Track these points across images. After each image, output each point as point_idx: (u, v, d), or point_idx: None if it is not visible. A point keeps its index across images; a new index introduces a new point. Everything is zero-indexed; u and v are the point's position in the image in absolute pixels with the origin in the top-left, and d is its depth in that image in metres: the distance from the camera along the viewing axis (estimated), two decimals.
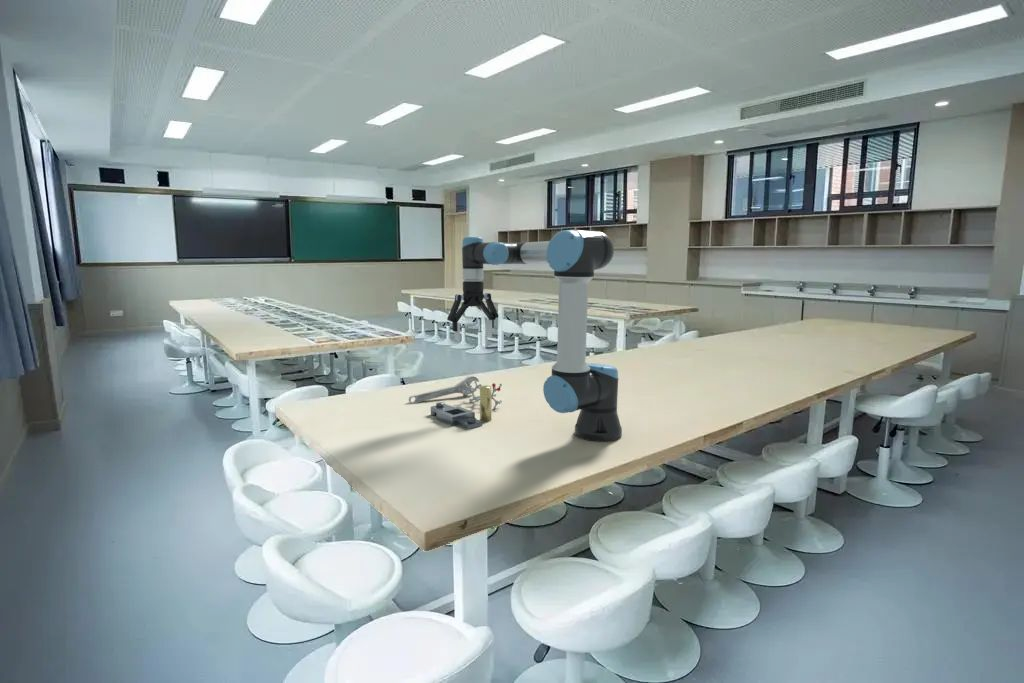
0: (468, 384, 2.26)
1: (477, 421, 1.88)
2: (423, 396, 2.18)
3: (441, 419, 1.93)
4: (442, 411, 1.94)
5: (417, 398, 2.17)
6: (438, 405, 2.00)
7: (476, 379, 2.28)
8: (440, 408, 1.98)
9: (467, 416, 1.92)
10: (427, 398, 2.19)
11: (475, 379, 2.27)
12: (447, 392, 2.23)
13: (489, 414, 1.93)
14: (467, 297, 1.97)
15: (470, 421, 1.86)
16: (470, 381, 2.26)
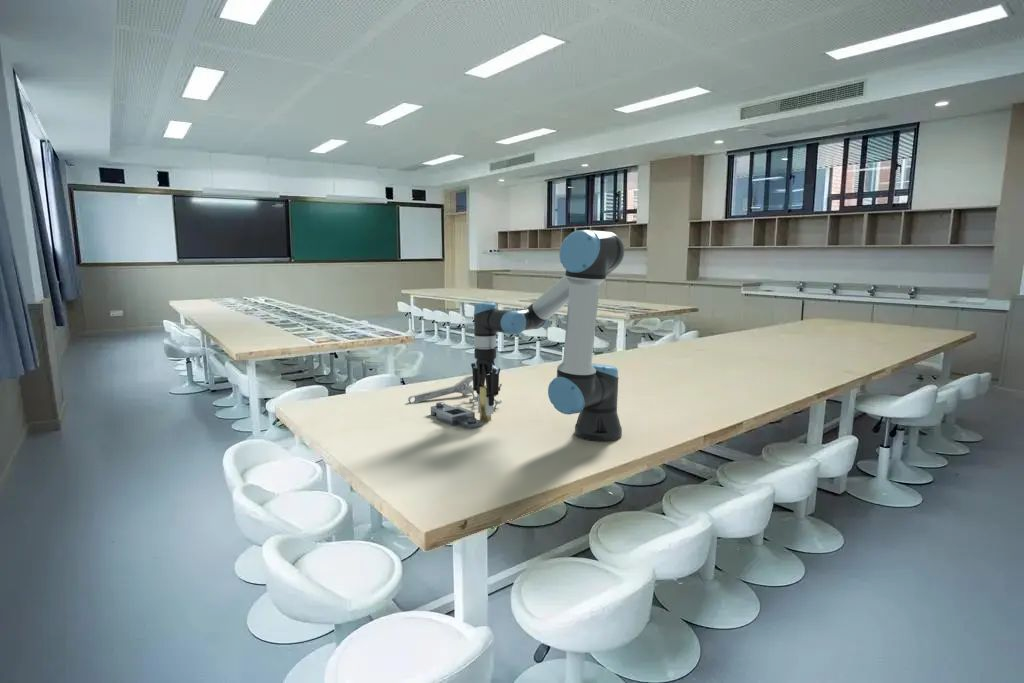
0: (467, 384, 2.27)
1: (477, 421, 1.88)
2: (423, 396, 2.18)
3: (441, 419, 1.93)
4: (442, 411, 1.94)
5: (417, 398, 2.17)
6: (438, 405, 2.00)
7: None
8: (440, 408, 1.98)
9: (467, 416, 1.92)
10: (427, 398, 2.19)
11: None
12: (446, 392, 2.23)
13: None
14: (477, 363, 1.93)
15: (470, 421, 1.86)
16: (469, 380, 2.27)
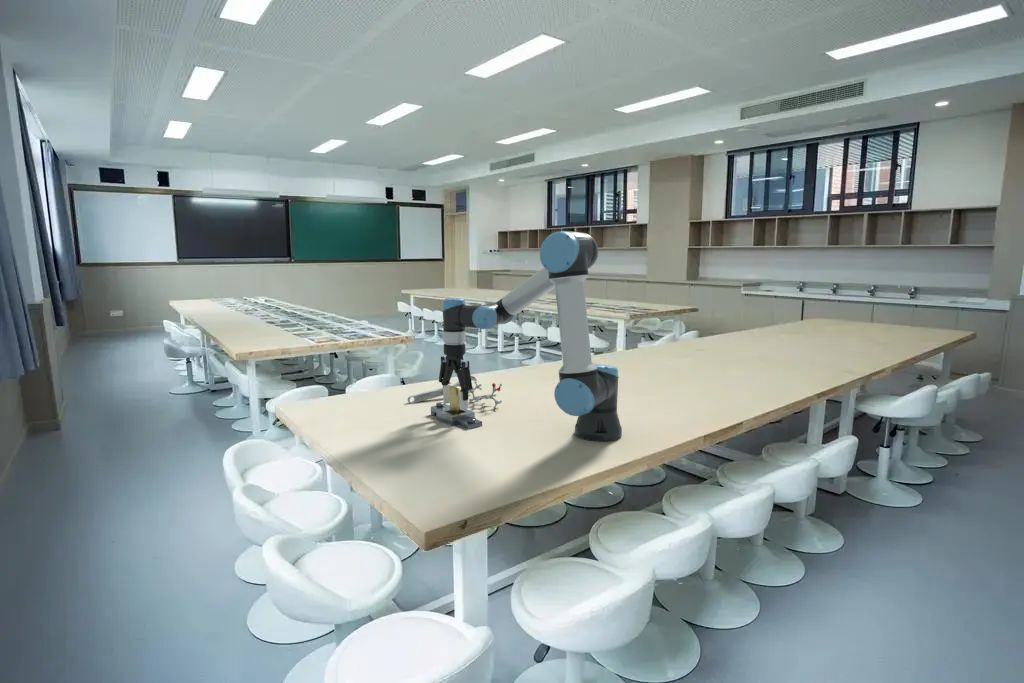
0: None
1: (477, 421, 1.88)
2: (422, 396, 2.18)
3: (441, 419, 1.93)
4: (442, 411, 1.94)
5: (416, 398, 2.17)
6: (438, 405, 2.00)
7: (474, 378, 2.28)
8: (440, 408, 1.98)
9: (467, 416, 1.92)
10: (426, 398, 2.19)
11: (473, 378, 2.28)
12: None
13: None
14: (447, 359, 1.93)
15: (470, 421, 1.86)
16: None
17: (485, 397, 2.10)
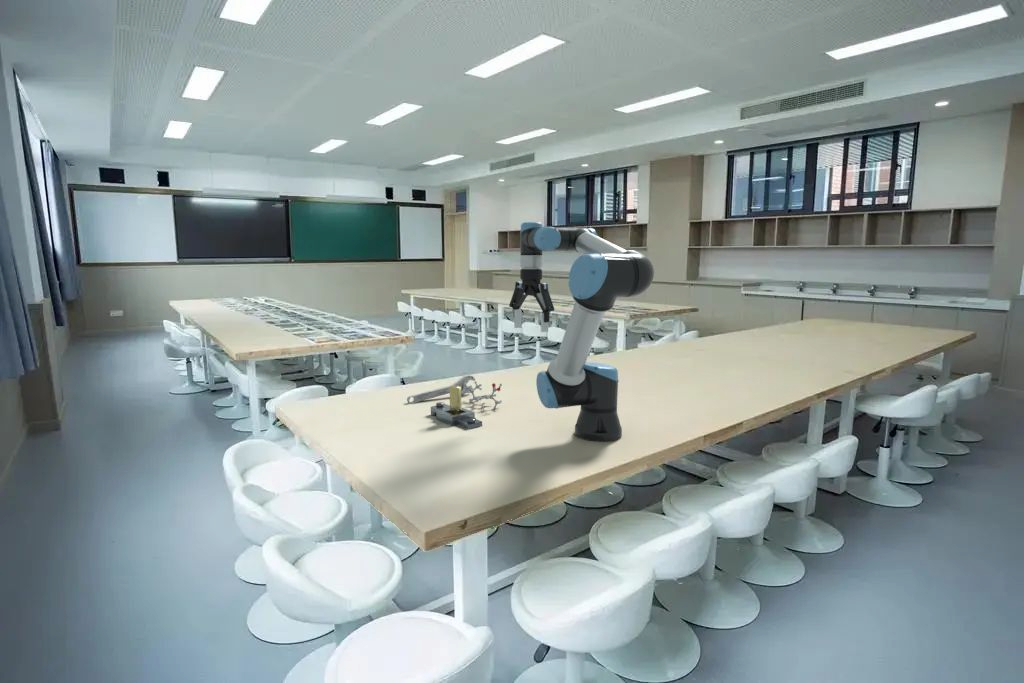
0: None
1: (477, 421, 1.88)
2: (421, 396, 2.18)
3: (441, 419, 1.93)
4: (442, 411, 1.94)
5: (416, 398, 2.17)
6: (438, 405, 2.00)
7: (473, 378, 2.29)
8: (440, 408, 1.98)
9: (467, 416, 1.92)
10: (425, 398, 2.19)
11: (471, 378, 2.29)
12: (445, 391, 2.23)
13: None
14: (522, 285, 1.92)
15: (470, 421, 1.86)
16: (466, 380, 2.28)
17: (485, 397, 2.10)
